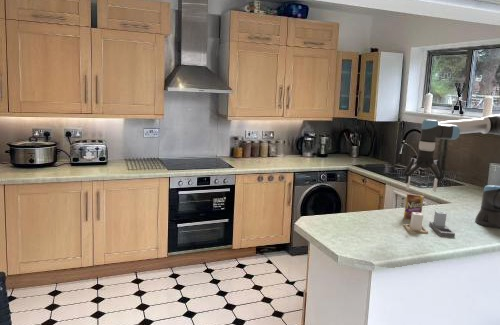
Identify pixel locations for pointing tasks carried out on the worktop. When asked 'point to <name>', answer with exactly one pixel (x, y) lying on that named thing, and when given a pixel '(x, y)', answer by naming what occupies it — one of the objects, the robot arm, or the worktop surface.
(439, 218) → the charger blue
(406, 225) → the tray
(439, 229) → the power strip
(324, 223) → the worktop surface
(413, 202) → the candy box
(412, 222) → the block
